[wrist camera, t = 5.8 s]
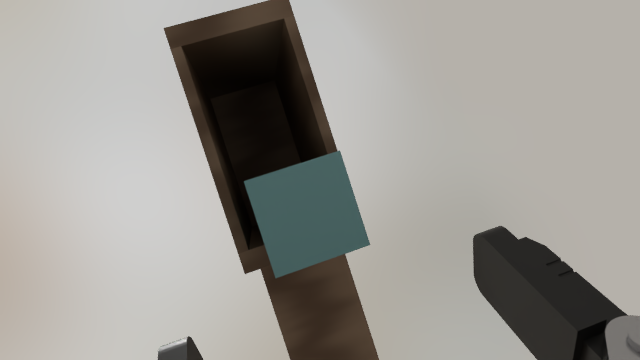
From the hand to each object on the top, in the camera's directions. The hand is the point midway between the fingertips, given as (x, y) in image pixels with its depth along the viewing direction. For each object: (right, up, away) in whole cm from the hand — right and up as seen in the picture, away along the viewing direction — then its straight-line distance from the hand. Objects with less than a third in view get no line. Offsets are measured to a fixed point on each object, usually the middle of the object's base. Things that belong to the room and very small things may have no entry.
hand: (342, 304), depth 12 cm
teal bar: (-2, +1, +11) cm, 11 cm away
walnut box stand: (+7, -29, +17) cm, 34 cm away
